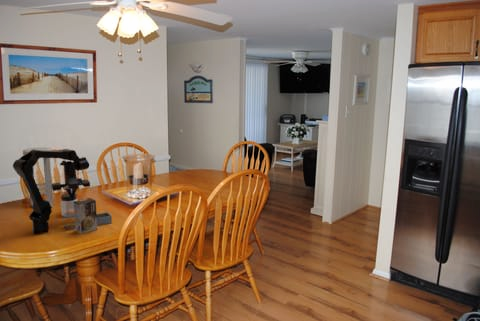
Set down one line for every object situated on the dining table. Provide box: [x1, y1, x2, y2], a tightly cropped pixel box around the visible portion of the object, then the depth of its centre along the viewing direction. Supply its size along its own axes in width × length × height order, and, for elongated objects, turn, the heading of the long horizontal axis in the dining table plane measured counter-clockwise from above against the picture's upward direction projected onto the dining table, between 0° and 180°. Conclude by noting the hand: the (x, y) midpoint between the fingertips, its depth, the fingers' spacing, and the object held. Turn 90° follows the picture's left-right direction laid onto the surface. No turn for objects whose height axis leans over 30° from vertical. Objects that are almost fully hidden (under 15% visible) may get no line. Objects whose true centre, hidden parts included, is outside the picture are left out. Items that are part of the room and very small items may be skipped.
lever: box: [65, 213, 75, 220], centre depth 208 cm, size 14×13×2 cm
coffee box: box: [74, 197, 98, 235], centre depth 199 cm, size 9×6×16 cm
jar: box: [60, 192, 78, 218], centre depth 222 cm, size 9×8×12 cm
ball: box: [67, 209, 74, 215], centre depth 202 cm, size 3×3×3 cm
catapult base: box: [63, 223, 76, 231], centre depth 205 cm, size 15×6×6 cm, turn 124°
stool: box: [22, 147, 54, 209], centre depth 237 cm, size 16×16×35 cm
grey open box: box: [96, 211, 113, 227], centre depth 212 cm, size 8×8×4 cm
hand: (72, 200), depth 211 cm, fingers closed
